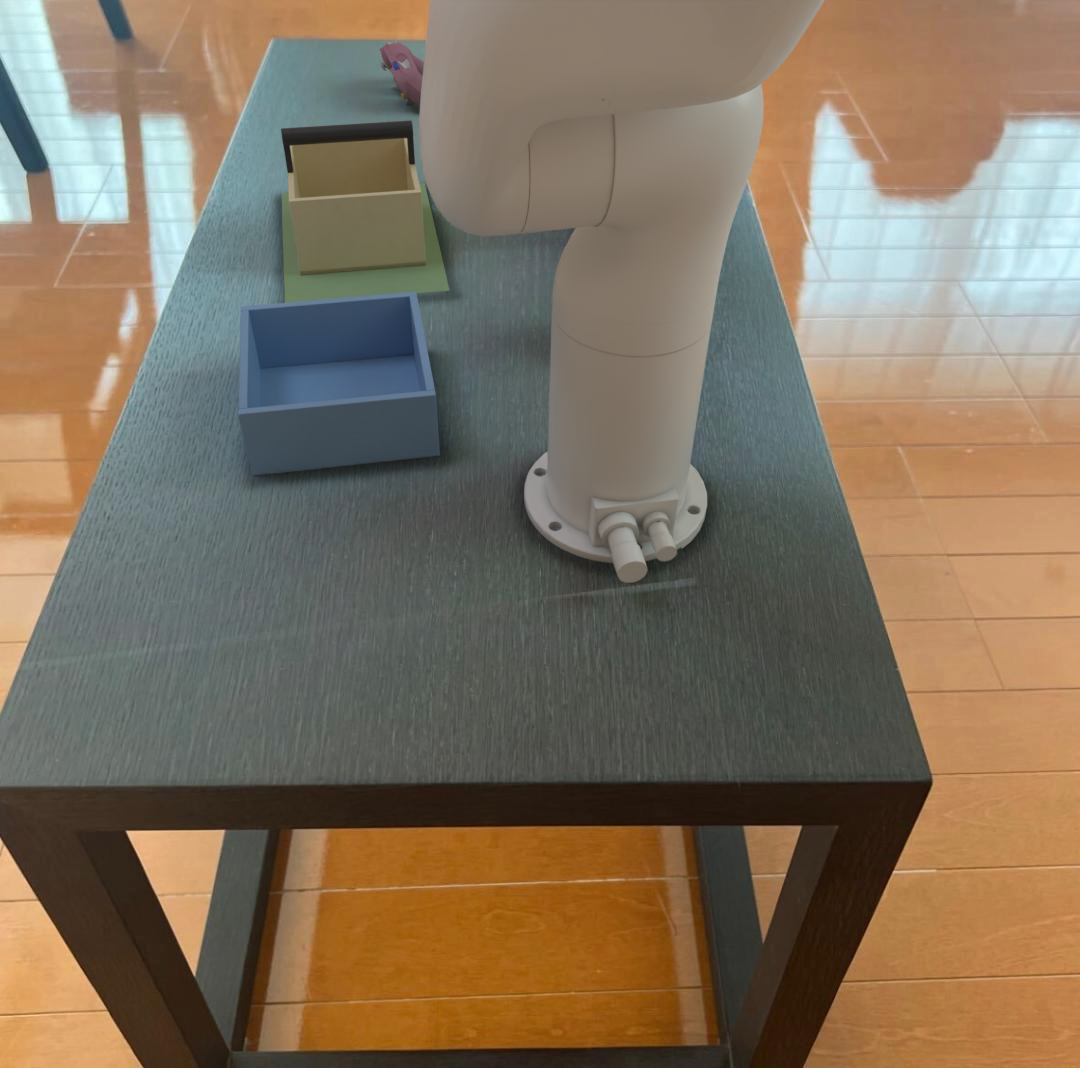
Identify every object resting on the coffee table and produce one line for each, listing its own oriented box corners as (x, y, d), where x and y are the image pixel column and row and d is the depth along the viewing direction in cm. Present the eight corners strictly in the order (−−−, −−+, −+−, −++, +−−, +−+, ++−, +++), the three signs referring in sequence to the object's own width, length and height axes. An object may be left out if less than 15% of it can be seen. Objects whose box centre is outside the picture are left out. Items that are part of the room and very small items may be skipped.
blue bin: (440, 461, 77) (436, 394, 73) (253, 481, 75) (238, 414, 71) (421, 355, 86) (416, 291, 82) (254, 371, 85) (240, 306, 80)
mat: (450, 296, 93) (449, 290, 92) (285, 310, 91) (284, 304, 90) (425, 188, 107) (424, 182, 106) (282, 198, 105) (281, 192, 104)
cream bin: (426, 265, 95) (418, 149, 88) (300, 275, 94) (281, 158, 86) (413, 206, 103) (405, 94, 95) (297, 214, 101) (280, 102, 94)
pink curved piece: (398, 94, 126) (366, 42, 121) (431, 73, 126) (400, 19, 121) (416, 129, 120) (384, 75, 115) (451, 107, 119) (420, 52, 114)
